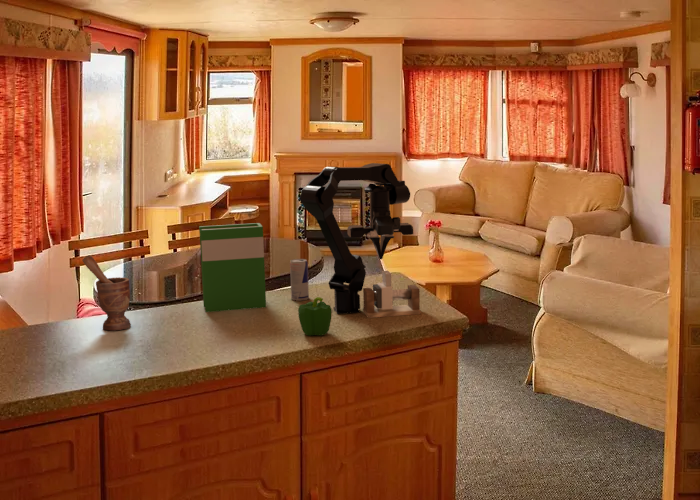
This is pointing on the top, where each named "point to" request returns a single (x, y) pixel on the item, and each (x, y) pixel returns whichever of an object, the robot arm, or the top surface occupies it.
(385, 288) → the beige boxy piece
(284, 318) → the top surface
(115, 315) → the mortar and pestle
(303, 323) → the bell pepper
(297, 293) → the energy drink
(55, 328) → the top surface
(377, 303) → the dark flat slab
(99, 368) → the top surface
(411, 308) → the pipe stand
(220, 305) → the hardback book
